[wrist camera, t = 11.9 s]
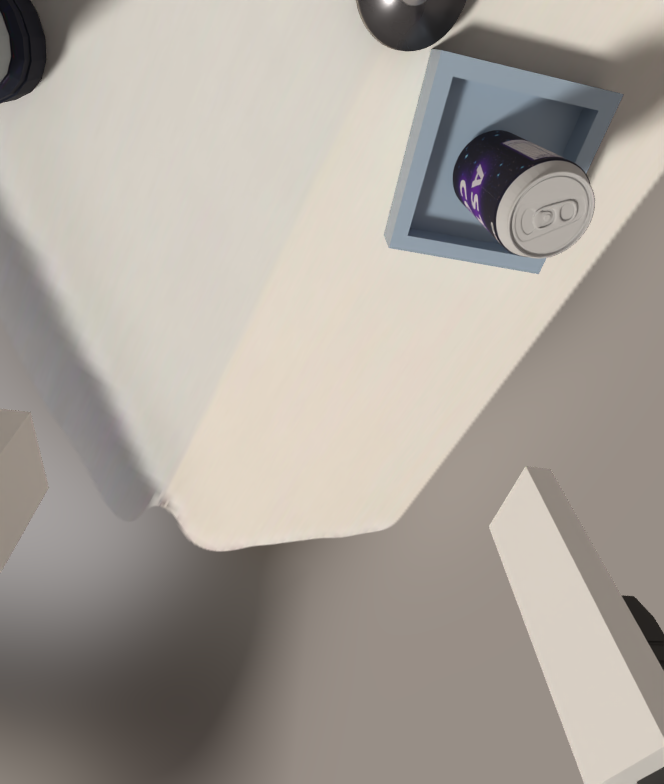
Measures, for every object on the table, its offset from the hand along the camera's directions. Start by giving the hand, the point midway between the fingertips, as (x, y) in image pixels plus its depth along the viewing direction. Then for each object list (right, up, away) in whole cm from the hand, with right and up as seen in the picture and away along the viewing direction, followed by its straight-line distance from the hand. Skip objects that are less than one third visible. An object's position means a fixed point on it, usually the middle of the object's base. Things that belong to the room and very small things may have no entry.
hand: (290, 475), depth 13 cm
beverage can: (+13, +20, +24) cm, 33 cm away
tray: (+13, +20, +24) cm, 34 cm away
